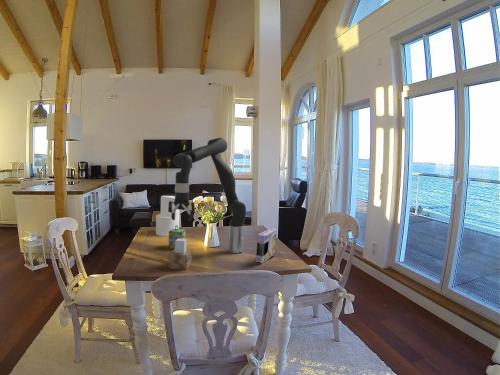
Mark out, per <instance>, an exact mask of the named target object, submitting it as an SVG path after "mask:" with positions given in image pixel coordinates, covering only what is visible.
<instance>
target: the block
mask: <svg viewBox="0 0 500 375" xmlns="http://www.w3.org/2000/svg"><path fill="white" fill-rule="evenodd" d="M187 243H188V240H187V238H186V239H181V238H178V239H177V240H176V241H175V253H181V254H184V253H185V252H186V250H187V249H188V248H187V246H188V244H187Z"/></svg>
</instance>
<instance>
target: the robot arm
mask: <svg viewBox="0 0 500 375" xmlns="http://www.w3.org/2000/svg"><path fill="white" fill-rule="evenodd" d="M227 149H228V141H227V140H226V139H225V138H223V137H217V138H212V139H209V140H208V141H207V144H206V145H203V146H199V147H197V148H194V149H191V150H189V151H184V152H180V153H177V154H175V155H174V156H173V158H172V164H173V165H174V166H175V167H177V168H181V169H180V171H177V172H176V173H175V186H174V196H175V201H174V202H173V201H170V202H169V206H168V212H170V213H172V219H173V220H175V211H176V210H177V209H178V210H179V211H181V210H182V211H184V210H185V212H186V213H187V214H188V215H187V222H190V221H191V220H192V214H194V213H195V212H196V207H195V206H196V205H195V202H194V201H191V202H190V181H189V180H190V177H189V176H190V173H191V171H192V170H191V169H192V167H193V164H194V163H196V162H199V161H202V160H204V159H206V158H207V157H211V159H212V163H213V165H214V167H215V170H216V172H217V175H218V179H219V181H220V184H221V187H222V189H223V193H224V196H225V200H226V203H227V209H228V210H229V212H230V213H231V214H232V216H231V217H232V218H231V220H230V221H229V230H228V252H229V253H232V254H240V253H239V252H242V253H243V252H244V229H245V228H244V226H245V222H246V215H247V207H246V204H245V203H244V202H242V201H240V200H239V198H238V196H237V193H236V178H235V176H234V172H233V170H232V169H231V167H230V166H228V164H227V163H226V162H225V161H224V160H223V158H222V155H221V154H222V153H224V152H226V151H227ZM173 204H174V205H175V206H176V207H175V208H174V209H173V210H172V205H173ZM189 206H190V207H191V209H190V207H189Z"/></svg>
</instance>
